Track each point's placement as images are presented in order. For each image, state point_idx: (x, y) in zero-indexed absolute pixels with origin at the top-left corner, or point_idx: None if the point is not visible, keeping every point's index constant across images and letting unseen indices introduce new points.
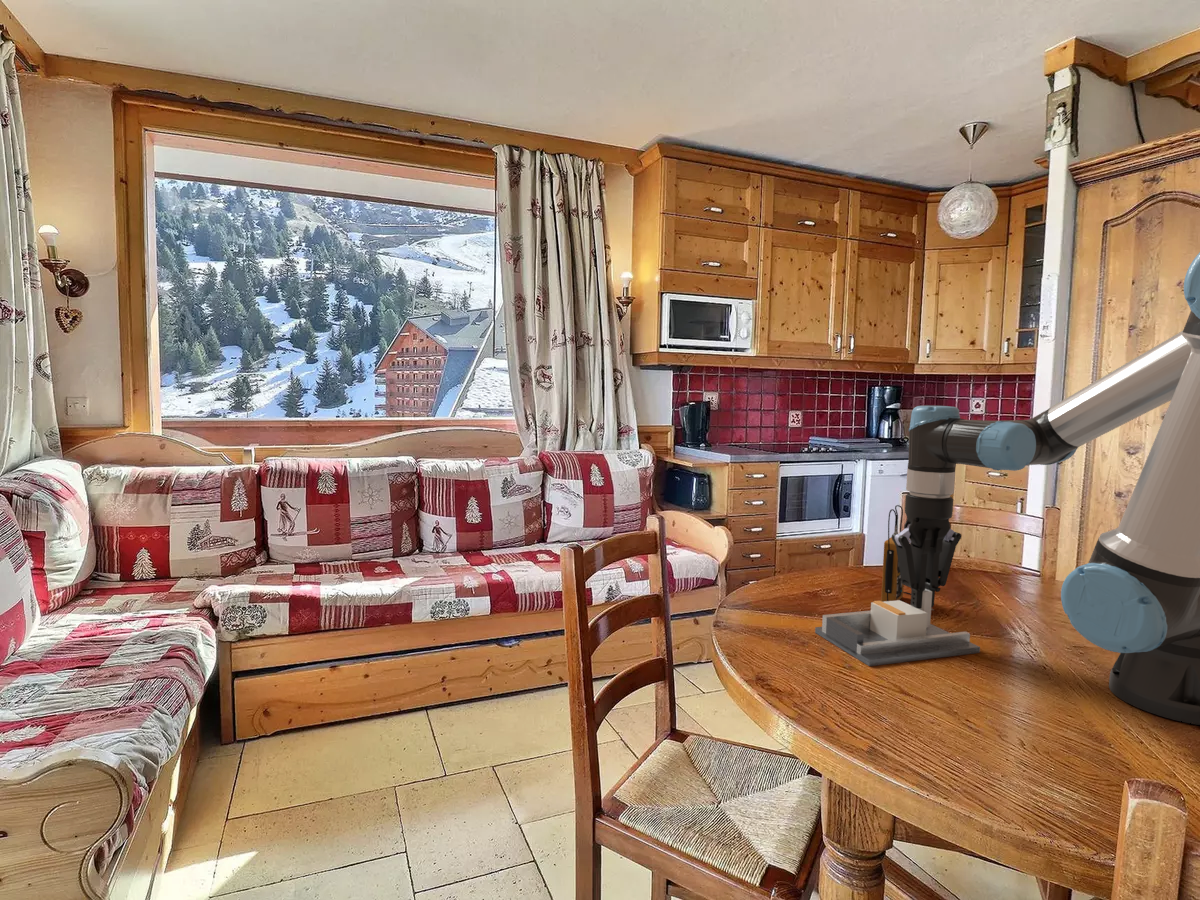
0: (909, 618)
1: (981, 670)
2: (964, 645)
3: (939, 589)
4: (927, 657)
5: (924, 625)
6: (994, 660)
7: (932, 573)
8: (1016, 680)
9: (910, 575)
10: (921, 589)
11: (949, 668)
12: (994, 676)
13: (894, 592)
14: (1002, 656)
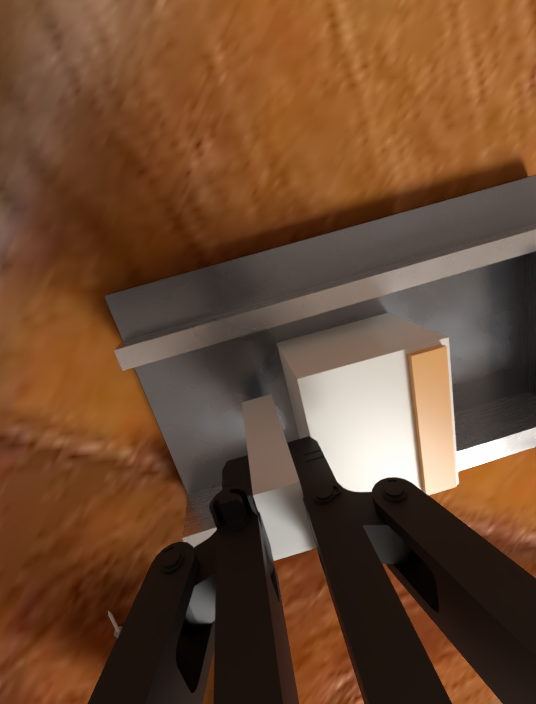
0: (380, 349)
1: (180, 132)
2: (158, 307)
3: (215, 502)
4: (322, 234)
5: (296, 357)
6: (87, 225)
7: (270, 604)
8: (88, 26)
9: (469, 539)
10: (329, 486)
11: (286, 154)
12: (158, 72)
13: (209, 679)
14: (39, 262)
